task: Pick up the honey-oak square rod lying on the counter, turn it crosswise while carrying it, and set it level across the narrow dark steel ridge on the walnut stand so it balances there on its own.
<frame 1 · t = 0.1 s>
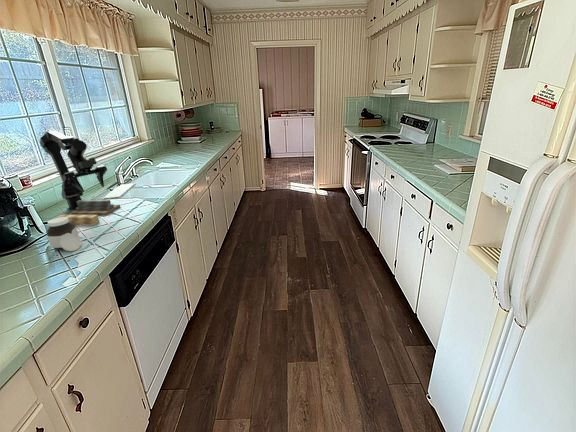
hand: (93, 189, 153), 15 cm above the worktop, tool tilted 30°, fingers open, 9 cm apart
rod: (79, 223, 153), on the worktop
baseboard molding: (118, 192, 203), on the worktop
spread jar: (70, 247, 127), on the worktop
ridge stand: (96, 211, 168), on the worktop
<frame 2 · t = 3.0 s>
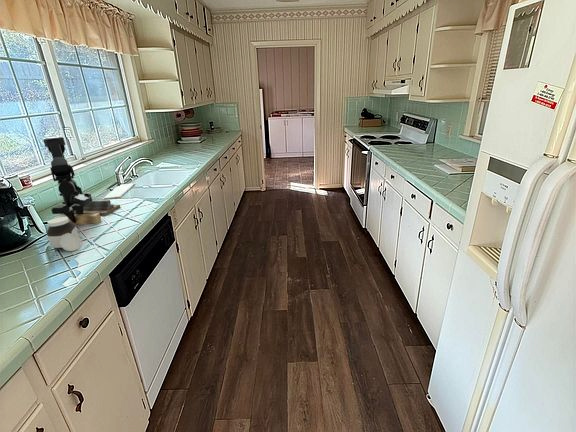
hand: (78, 221, 152), 1 cm above the worktop, tool pointing down, fingers closed on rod, 4 cm apart
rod: (79, 223, 153), on the worktop, touching gripper
everything else where it was.
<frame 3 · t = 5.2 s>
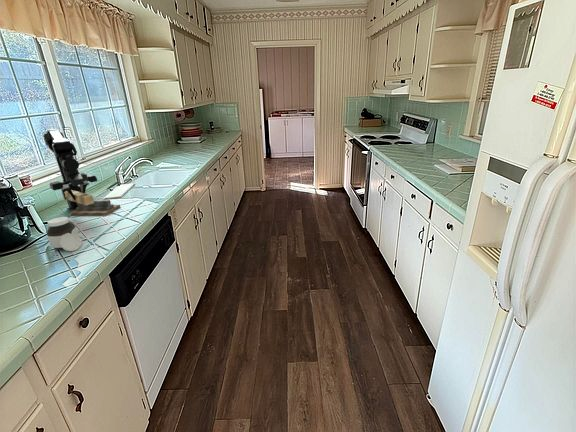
hand: (79, 198, 155), 10 cm above the worktop, tool pointing down, fingers closed on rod, 4 cm apart
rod: (80, 201, 155), point 9 cm above the worktop, touching gripper
everything else where it was.
when the fingers open (8 cm above the worktop, at t = 7.5 s): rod stays where it is, resting on ridge stand.
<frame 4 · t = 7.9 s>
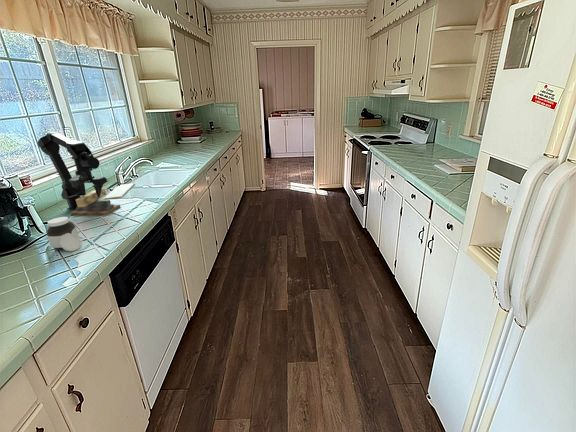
hand: (91, 197, 165), 8 cm above the worktop, tool pointing down, fingers open, 8 cm apart
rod: (93, 200, 166), point 6 cm above the worktop, touching ridge stand
everything else where it was.
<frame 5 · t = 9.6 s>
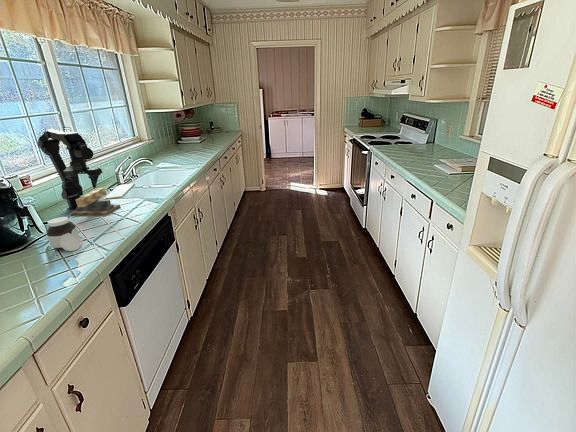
hand: (86, 188, 163), 13 cm above the worktop, tool pointing down, fingers open, 9 cm apart
nothing on the worktop moved.
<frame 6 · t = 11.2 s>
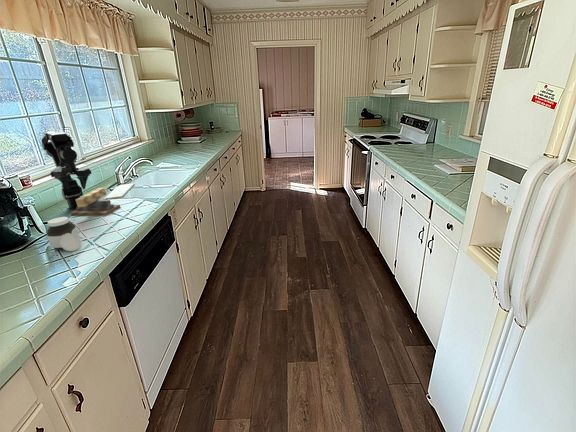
hand: (76, 189, 162), 13 cm above the worktop, tool pointing down, fingers open, 9 cm apart
nothing on the worktop moved.
at the end: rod touching ridge stand; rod tilted 0° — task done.
